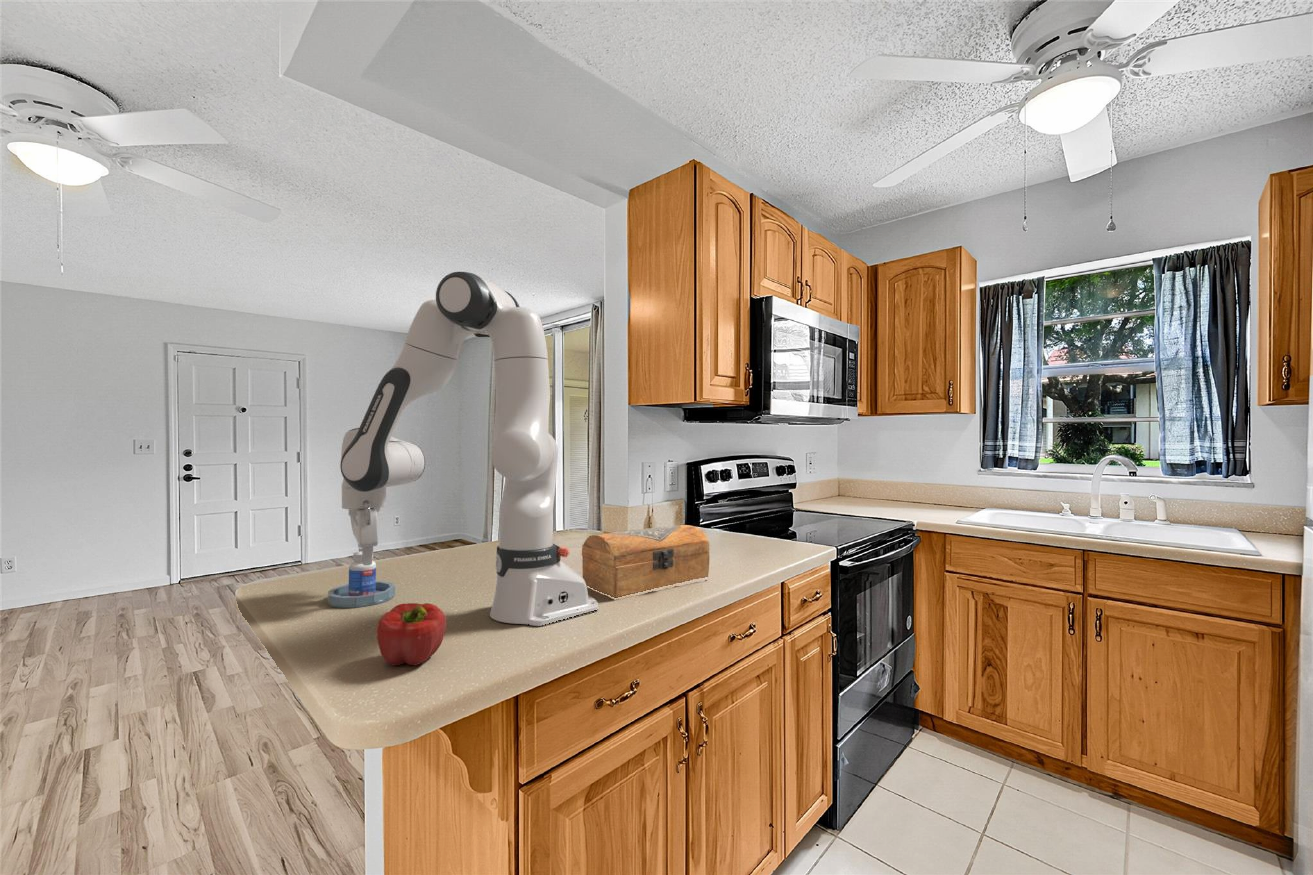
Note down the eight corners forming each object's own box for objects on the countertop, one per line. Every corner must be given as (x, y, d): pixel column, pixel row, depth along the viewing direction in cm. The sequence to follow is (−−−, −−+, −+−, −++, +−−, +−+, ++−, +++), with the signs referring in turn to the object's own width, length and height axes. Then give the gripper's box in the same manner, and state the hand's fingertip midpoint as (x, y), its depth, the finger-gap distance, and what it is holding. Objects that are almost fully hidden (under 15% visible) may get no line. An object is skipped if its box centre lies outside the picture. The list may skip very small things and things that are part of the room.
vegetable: (456, 664, 88) (457, 602, 88) (388, 682, 82) (389, 616, 82) (432, 644, 97) (433, 588, 97) (369, 659, 90) (369, 599, 90)
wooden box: (615, 603, 122) (616, 541, 122) (580, 586, 135) (580, 530, 135) (713, 582, 140) (714, 529, 140) (673, 569, 153) (674, 520, 153)
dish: (390, 587, 131) (390, 578, 131) (397, 601, 120) (398, 591, 120) (327, 595, 124) (327, 586, 124) (329, 611, 113) (329, 601, 113)
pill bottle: (363, 600, 119) (364, 556, 119) (342, 598, 120) (343, 554, 120) (381, 593, 124) (381, 550, 124) (360, 591, 125) (361, 549, 125)
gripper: (385, 502, 115) (386, 567, 115) (375, 494, 132) (376, 551, 132) (351, 504, 112) (352, 572, 112) (345, 496, 129) (346, 554, 129)
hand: (365, 560), depth 122 cm, fingers open, 8 cm apart
